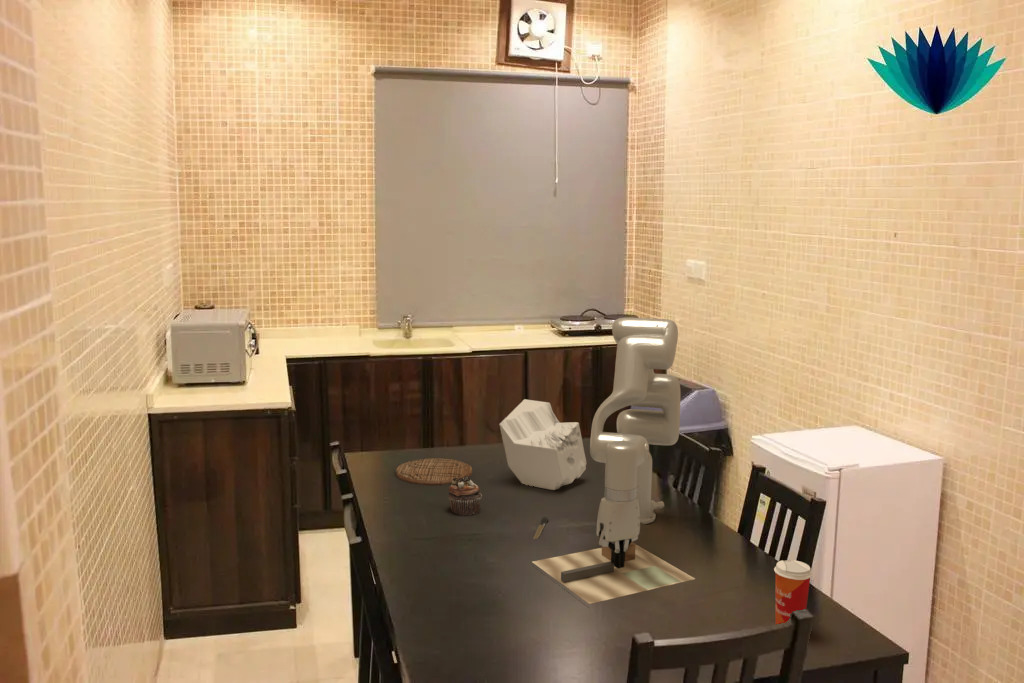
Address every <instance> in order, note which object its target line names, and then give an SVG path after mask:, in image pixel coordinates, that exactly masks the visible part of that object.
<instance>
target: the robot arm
mask: <svg viewBox="0 0 1024 683" xmlns="http://www.w3.org/2000/svg"><path fill="white" fill-rule="evenodd" d="M611 332H612V337H613V339H614V341H615V343H616V345H617V347H616V354H615V355H616V357H615V363H614V364H615V367H614V378H613V388H612V393H611V394H610V395H609V396H608V397H607V398H606V399H604V401H603V402H602V403H601V404H600V405H599V407H598V408H597V410H596V412H595V413H594V415H593V419H592V423H591V431H590V432H591V433H590V442H589V453H590V457H591V458H592V460H594V461H595V462H598V463H603V464H604V465H605V469H604V497H602V498H601V499H600V503H599V506H598V507H599V508H598V511H597V512H598V513H597V518H596V519H597V520H596V536H597V537H599V541H598V545H599V546H601V547H602V546H603V547H609V549H611V562H612V563H614V566H615V567H617V568H618V569H619V568H623V567H624V563H625V551H627V550H628V546H629V545H630V543H631V542H633V543H634V542H635V541H637V540H639V535H640V530H641V524H643V525H648V524H650V523H653V522H655V520H656V513H655V512H654V511H655V510H656V509H663V508H664V507H665V502H664V501H662V500H661V501H655V500H653V499H652V479H653V478H652V477H653V475H652V474H653V458H652V454H651V452H650V445H654V446H655V445H656V446H673V445H675V444H676V443H677V442H678V440H679V436H680V428H681V427H680V426H681V425H680V422H681V384H680V381H679V379H678V378H677V376H675V375H672V374H667V373H655V371H654V370H669V369H671V368H672V366H673V365H674V362H675V357H676V351H677V346H678V345H677V344H678V341H679V340H678V338H679V329H678V325H677V323H676V322H675V321H674V320H671V319H668V318H667V319H665V318H650V317H645V318H644V317H629V316H628V317H619V318H617V319H615V320H614V321H613V323H612V328H611ZM629 406H631V407H637V409H636V408H629V409H625V410H622V411H621V412H619V414H618V415H617V418H616V432H607V431H604V427H605V426H604V425H605V422H606V420H608V418H609V417H610V416H611V415H612V414H614V413H615V412H617V411H619V410H621V409H624V408H626V407H629ZM638 407H639V408H640V407H641V408H652V409H653V408H654V409H661V410H654V409H653V410H652V409H651V410H650V409H639V408H638Z"/></svg>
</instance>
